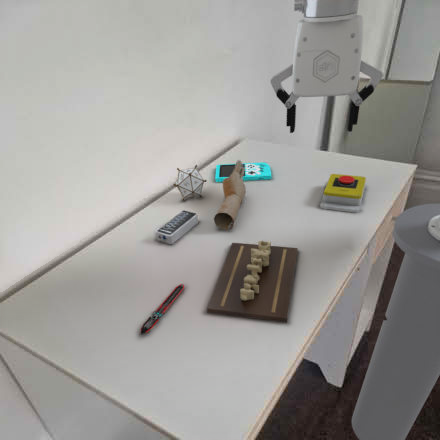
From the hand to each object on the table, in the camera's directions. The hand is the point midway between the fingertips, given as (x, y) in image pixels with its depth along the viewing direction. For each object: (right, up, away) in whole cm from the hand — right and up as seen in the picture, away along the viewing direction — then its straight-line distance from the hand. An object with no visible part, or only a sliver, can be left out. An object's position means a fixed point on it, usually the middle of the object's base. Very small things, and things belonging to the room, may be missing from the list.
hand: (320, 129), depth 64 cm
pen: (-28, -31, +2) cm, 42 cm away
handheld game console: (-11, +7, +44) cm, 46 cm away
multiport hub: (-27, -14, +23) cm, 38 cm away
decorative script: (-11, -25, +7) cm, 28 cm away
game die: (-25, -3, +35) cm, 44 cm away
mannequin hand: (-14, -6, +30) cm, 34 cm away
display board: (-11, -26, +7) cm, 29 cm away
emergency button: (+14, -4, +30) cm, 33 cm away
